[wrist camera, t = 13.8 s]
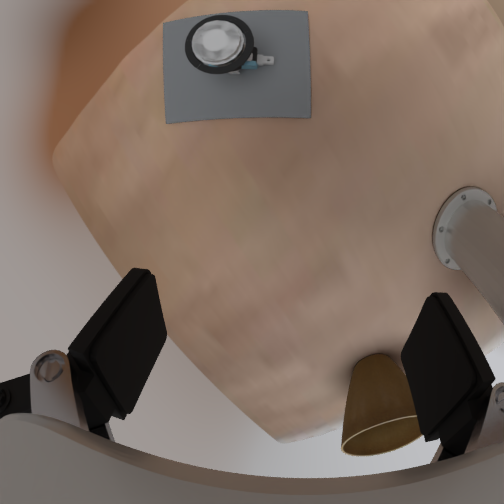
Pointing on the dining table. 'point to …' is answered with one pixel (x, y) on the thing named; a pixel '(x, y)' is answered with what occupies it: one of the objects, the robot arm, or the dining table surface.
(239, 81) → the mat
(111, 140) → the dining table surface
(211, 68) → the black mechanical part
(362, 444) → the plant pot
